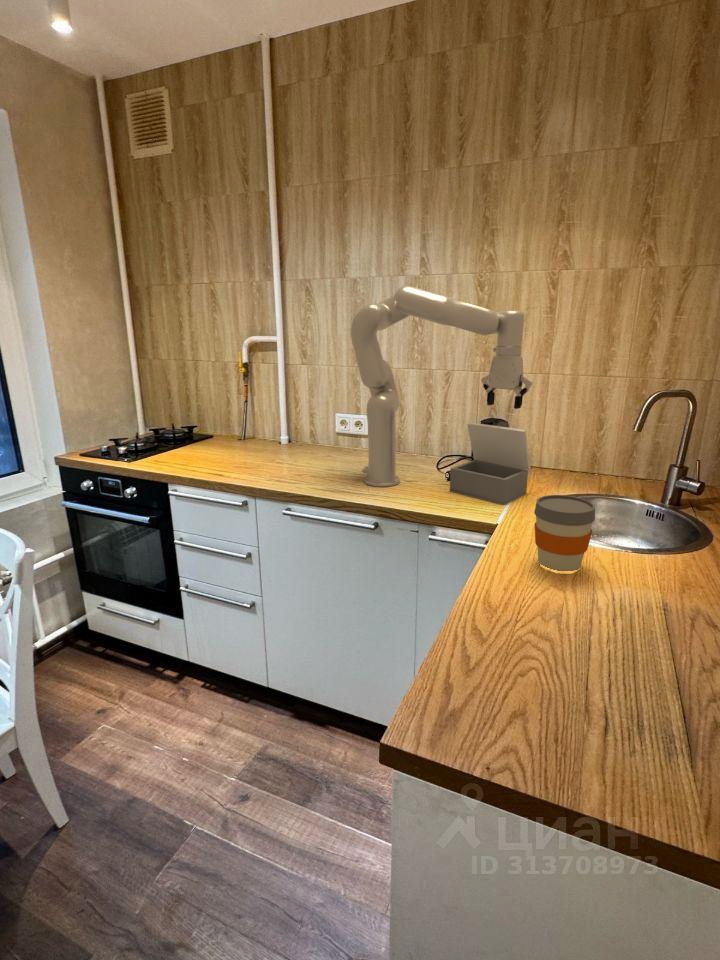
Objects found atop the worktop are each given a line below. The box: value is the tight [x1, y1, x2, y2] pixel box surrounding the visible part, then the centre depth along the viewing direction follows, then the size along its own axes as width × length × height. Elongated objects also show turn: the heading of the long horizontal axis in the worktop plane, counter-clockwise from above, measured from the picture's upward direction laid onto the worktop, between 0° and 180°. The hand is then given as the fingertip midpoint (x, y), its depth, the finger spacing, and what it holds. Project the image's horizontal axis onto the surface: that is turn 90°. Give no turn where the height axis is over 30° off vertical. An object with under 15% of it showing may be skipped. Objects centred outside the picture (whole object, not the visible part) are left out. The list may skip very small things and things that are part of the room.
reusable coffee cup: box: [533, 494, 596, 571], centre depth 115 cm, size 13×13×15 cm
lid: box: [466, 421, 531, 471], centre depth 168 cm, size 20×14×6 cm
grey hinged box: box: [449, 459, 529, 506], centre depth 167 cm, size 20×14×8 cm
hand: (503, 406), depth 165 cm, fingers open, 9 cm apart
